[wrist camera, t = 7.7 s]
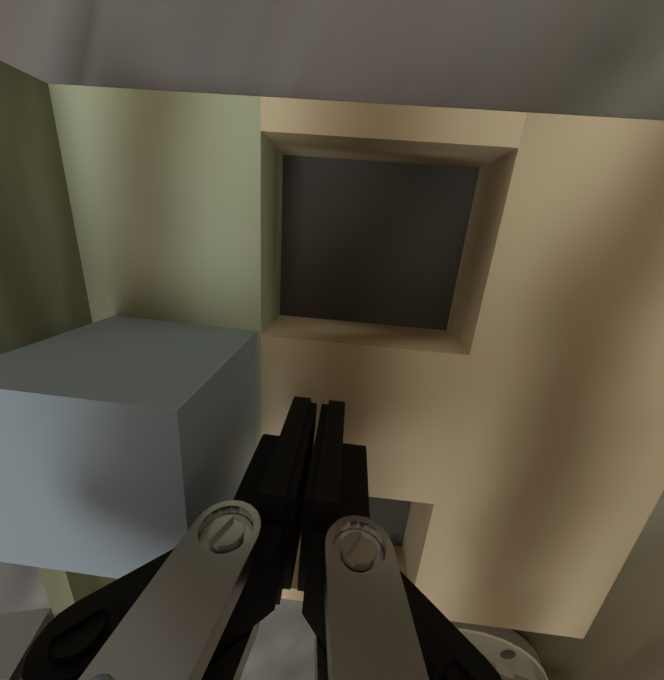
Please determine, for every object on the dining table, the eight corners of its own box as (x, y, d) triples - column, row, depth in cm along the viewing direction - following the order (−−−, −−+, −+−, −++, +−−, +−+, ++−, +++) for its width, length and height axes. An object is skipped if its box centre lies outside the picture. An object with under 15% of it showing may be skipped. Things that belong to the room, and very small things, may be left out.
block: (256, 331, 11) (177, 410, 6) (255, 452, 12) (192, 589, 8) (114, 315, 11) (-74, 380, 6) (132, 436, 12) (-5, 560, 8)
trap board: (724, 158, 11) (1148, 74, 5) (545, 571, 17) (639, 738, 11) (98, 118, 12) (-150, 10, 6) (157, 523, 18) (67, 654, 12)
